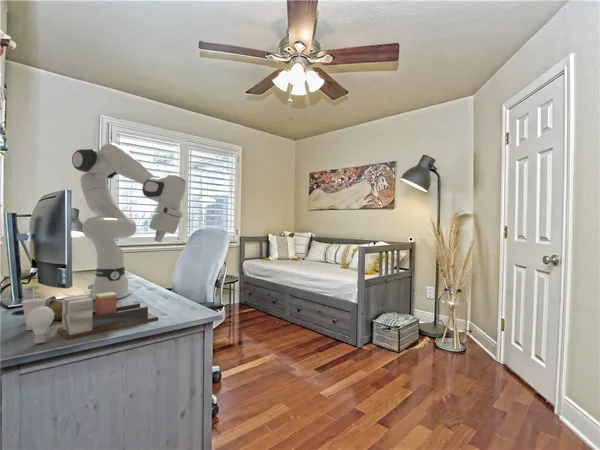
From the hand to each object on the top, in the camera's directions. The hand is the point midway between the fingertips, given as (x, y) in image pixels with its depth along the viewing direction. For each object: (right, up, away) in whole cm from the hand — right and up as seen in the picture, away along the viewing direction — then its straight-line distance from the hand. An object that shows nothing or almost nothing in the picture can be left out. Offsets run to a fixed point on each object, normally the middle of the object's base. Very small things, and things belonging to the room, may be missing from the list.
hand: (157, 241), depth 135 cm
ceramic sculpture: (-31, -28, -18) cm, 45 cm away
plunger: (-7, -27, -25) cm, 38 cm away
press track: (-5, -28, -24) cm, 38 cm away
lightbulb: (-16, -28, -42) cm, 53 cm away
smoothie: (-29, -28, -29) cm, 50 cm away
